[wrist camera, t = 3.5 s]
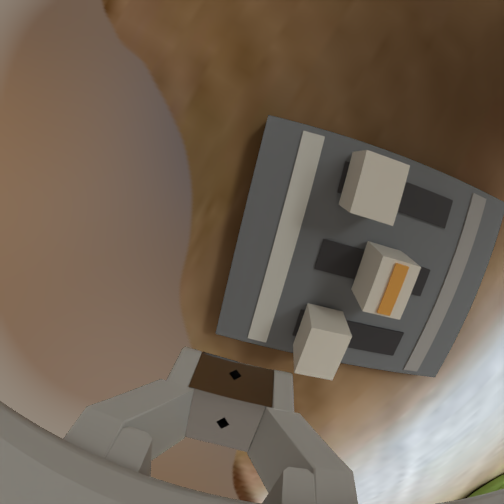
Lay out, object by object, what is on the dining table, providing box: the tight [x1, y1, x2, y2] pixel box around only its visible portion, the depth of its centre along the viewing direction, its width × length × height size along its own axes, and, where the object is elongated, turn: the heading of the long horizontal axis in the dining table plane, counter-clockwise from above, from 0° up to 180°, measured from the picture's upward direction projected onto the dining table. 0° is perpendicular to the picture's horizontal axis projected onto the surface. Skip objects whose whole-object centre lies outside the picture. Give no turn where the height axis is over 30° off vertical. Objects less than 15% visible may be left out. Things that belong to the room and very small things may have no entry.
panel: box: [216, 115, 504, 377], centre depth 25 cm, size 22×18×2 cm
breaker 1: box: [293, 303, 352, 380], centre depth 23 cm, size 3×4×4 cm
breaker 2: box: [339, 150, 410, 226], centre depth 20 cm, size 3×4×4 cm
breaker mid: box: [351, 241, 421, 320], centre depth 22 cm, size 3×4×4 cm
